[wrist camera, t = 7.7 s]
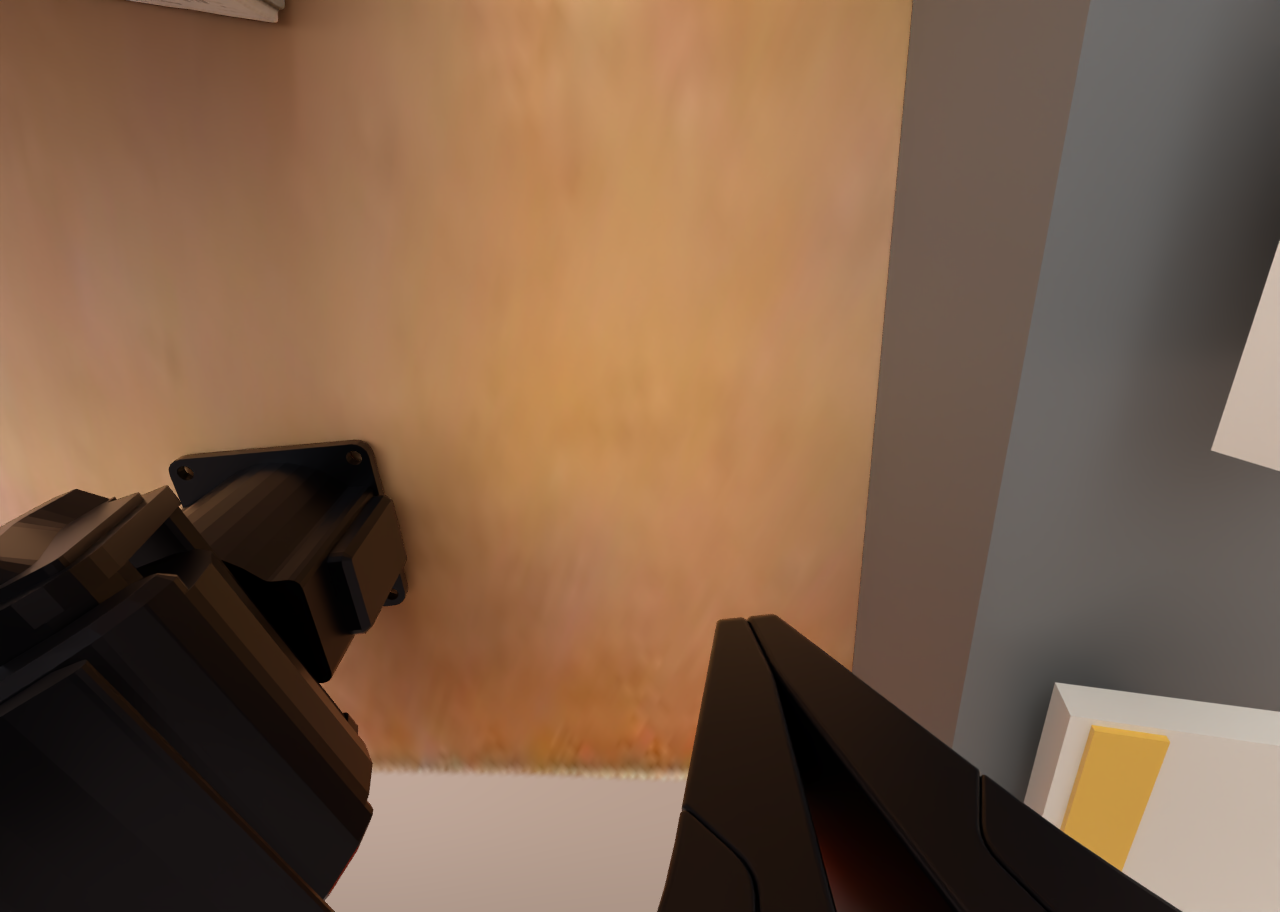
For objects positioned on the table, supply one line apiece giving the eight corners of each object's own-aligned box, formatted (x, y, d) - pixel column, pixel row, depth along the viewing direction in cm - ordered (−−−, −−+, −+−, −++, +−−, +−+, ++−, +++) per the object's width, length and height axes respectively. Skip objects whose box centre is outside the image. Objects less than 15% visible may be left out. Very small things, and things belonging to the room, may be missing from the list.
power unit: (845, 746, 28) (954, 972, 20) (918, -56, 16) (1257, -331, 8) (1091, 717, 28) (1298, 925, 20) (1329, -78, 17) (2043, -355, 9)
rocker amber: (996, 908, 20) (1006, 955, 19) (1055, 682, 16) (1073, 721, 15) (1333, 985, 18) (1371, 1044, 17) (1496, 740, 14) (1560, 793, 13)
